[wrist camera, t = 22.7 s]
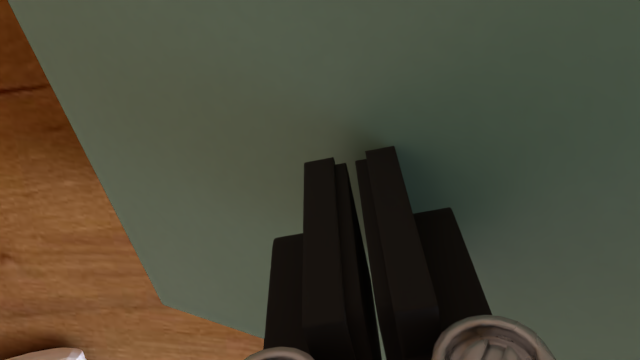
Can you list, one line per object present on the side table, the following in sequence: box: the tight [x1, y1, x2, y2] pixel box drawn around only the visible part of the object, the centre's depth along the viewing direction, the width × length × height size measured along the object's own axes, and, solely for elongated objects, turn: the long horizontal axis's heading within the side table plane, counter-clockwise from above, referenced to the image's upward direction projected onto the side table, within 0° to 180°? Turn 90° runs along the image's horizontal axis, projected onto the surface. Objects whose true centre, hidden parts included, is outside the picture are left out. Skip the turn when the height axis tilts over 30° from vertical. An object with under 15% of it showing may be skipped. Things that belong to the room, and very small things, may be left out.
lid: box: [8, 0, 640, 360], centre depth 11 cm, size 16×12×1 cm
